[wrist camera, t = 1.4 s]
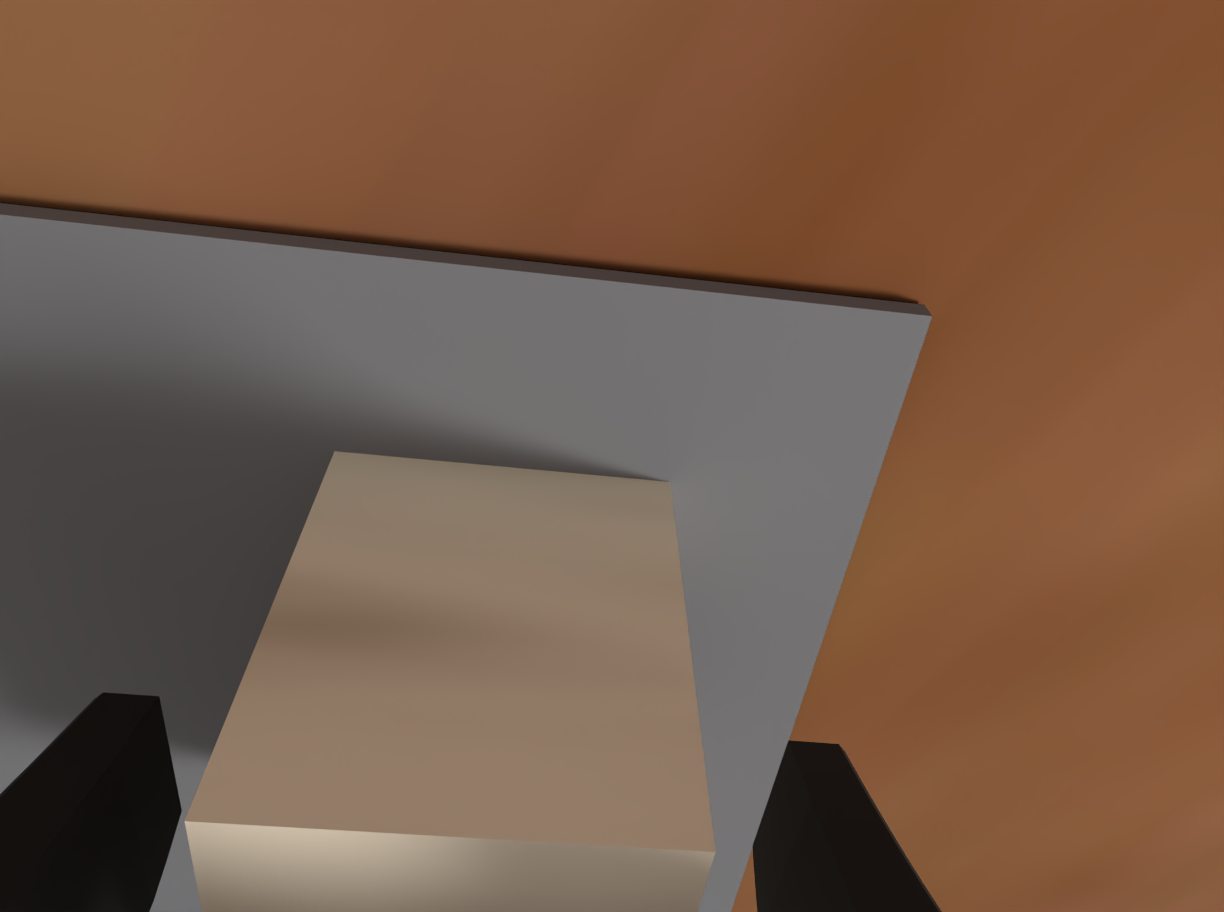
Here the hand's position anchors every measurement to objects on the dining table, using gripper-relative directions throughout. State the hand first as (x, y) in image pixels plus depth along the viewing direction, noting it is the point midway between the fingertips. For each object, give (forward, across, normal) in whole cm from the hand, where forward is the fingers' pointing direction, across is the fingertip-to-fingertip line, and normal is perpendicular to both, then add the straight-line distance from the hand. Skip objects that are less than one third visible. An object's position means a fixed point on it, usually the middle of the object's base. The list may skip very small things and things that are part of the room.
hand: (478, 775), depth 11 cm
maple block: (+2, 0, 0) cm, 2 cm away
